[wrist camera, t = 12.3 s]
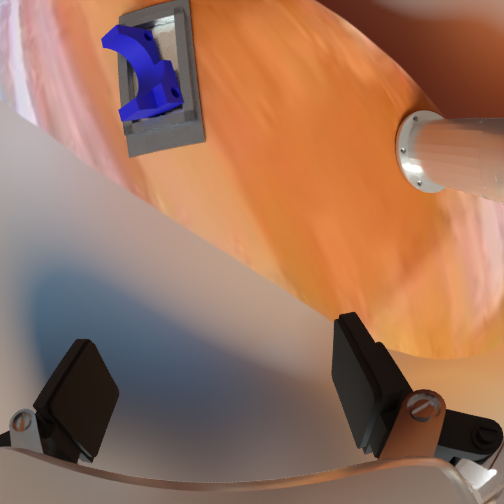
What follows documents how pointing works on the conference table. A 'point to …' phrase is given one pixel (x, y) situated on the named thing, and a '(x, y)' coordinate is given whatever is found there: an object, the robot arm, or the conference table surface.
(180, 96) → the cable clip
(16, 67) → the conference table surface
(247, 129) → the conference table surface
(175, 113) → the grey rectangular tray
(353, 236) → the conference table surface
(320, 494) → the robot arm
